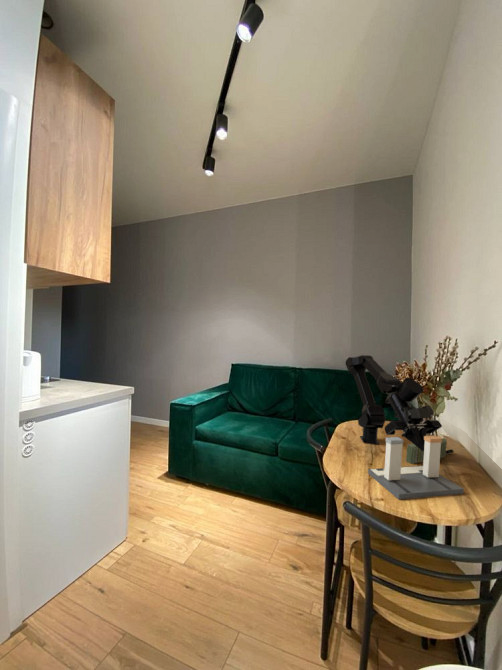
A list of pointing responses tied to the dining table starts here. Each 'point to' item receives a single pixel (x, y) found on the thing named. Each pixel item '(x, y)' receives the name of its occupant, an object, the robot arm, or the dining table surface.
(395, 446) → the lever
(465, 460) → the dining table surface
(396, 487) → the switch bank
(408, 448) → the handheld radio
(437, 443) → the lever
